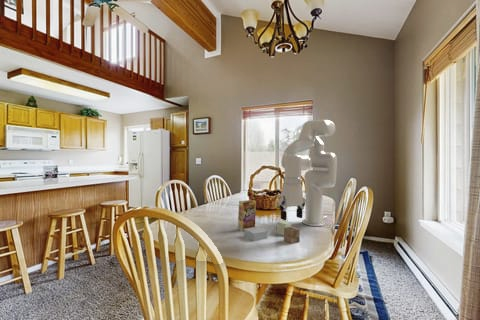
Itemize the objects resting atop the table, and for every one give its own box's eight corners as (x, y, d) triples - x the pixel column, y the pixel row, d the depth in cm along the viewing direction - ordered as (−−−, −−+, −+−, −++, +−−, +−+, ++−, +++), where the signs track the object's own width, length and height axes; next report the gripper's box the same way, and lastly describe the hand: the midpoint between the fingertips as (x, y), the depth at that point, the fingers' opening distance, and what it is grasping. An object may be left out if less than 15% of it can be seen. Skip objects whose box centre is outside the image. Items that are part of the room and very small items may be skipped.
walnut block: (291, 238, 111) (292, 226, 111) (299, 242, 106) (299, 229, 106) (283, 240, 108) (284, 227, 108) (291, 244, 104) (291, 230, 104)
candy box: (242, 231, 120) (242, 202, 120) (237, 229, 124) (238, 200, 124) (255, 228, 125) (256, 200, 125) (251, 226, 129) (251, 199, 128)
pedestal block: (256, 234, 117) (257, 226, 117) (267, 239, 111) (267, 230, 111) (244, 237, 113) (244, 228, 113) (254, 242, 106) (254, 233, 106)
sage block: (282, 231, 121) (282, 220, 121) (290, 233, 118) (291, 222, 118) (276, 233, 118) (277, 221, 118) (285, 236, 114) (285, 224, 114)
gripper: (300, 180, 114) (299, 215, 114) (272, 180, 106) (271, 218, 106) (312, 181, 108) (311, 218, 108) (283, 182, 99) (282, 222, 99)
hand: (291, 218), depth 107 cm, fingers open, 9 cm apart
